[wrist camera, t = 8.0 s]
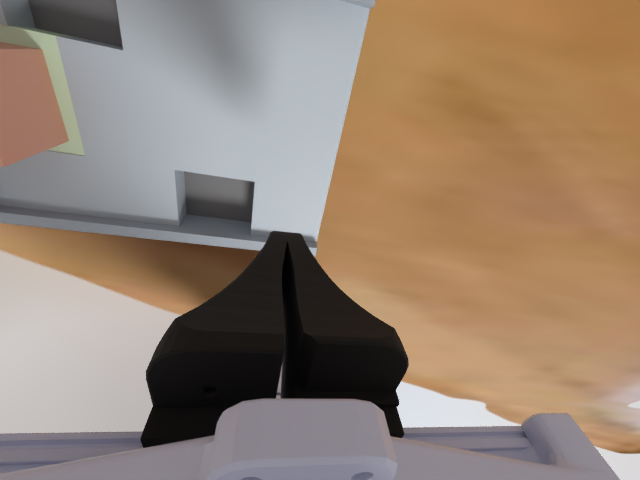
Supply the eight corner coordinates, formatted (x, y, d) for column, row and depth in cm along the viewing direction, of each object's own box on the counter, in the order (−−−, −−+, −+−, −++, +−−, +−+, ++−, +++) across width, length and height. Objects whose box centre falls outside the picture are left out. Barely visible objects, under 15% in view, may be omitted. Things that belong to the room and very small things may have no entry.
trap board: (312, 236, 24) (315, 261, 21) (8, 200, 20) (-38, 224, 17) (365, -5, 16) (382, -18, 13) (-143, -152, 12) (-284, -218, 9)
